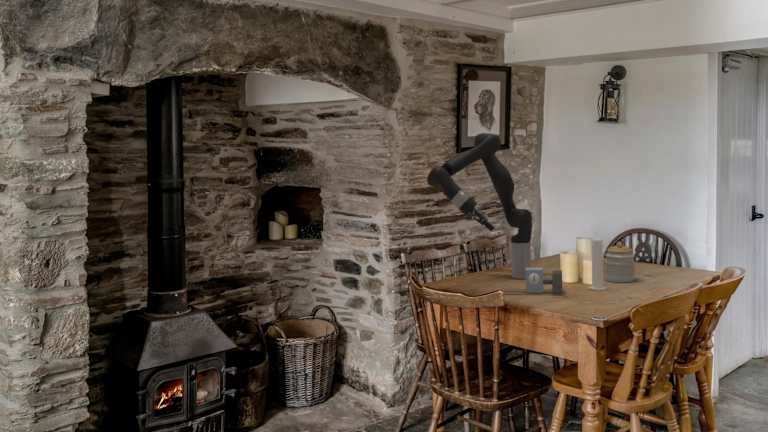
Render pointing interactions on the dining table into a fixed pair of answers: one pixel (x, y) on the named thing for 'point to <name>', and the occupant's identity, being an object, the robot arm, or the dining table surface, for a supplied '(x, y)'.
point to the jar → (620, 264)
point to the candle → (597, 264)
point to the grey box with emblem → (535, 280)
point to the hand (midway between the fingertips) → (492, 229)
